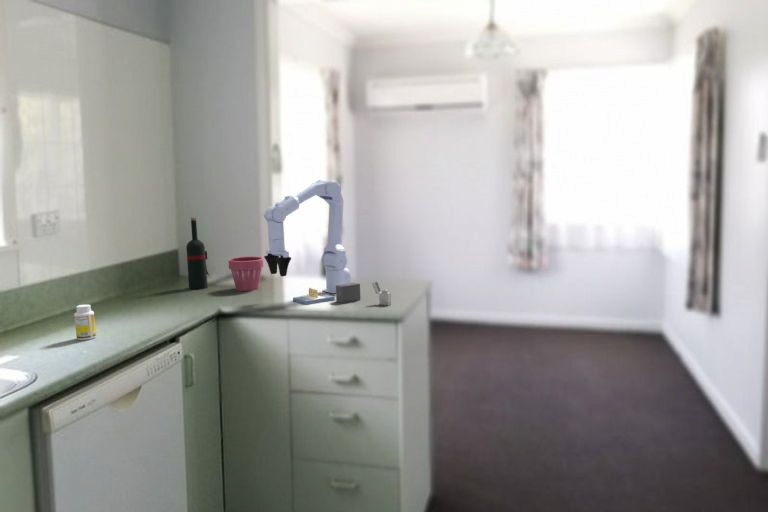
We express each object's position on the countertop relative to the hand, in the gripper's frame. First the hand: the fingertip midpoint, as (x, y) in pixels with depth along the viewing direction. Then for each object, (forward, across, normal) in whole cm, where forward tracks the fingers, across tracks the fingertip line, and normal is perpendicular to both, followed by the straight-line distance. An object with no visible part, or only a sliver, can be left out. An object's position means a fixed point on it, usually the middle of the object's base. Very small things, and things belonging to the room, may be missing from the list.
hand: (278, 274), depth 264 cm
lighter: (+10, +32, +24) cm, 41 cm away
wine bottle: (+10, -53, -10) cm, 55 cm away
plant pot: (+10, -34, +3) cm, 35 cm away
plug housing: (+10, +18, +19) cm, 28 cm away
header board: (+10, +8, +10) cm, 16 cm away
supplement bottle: (+10, +10, -71) cm, 72 cm away
